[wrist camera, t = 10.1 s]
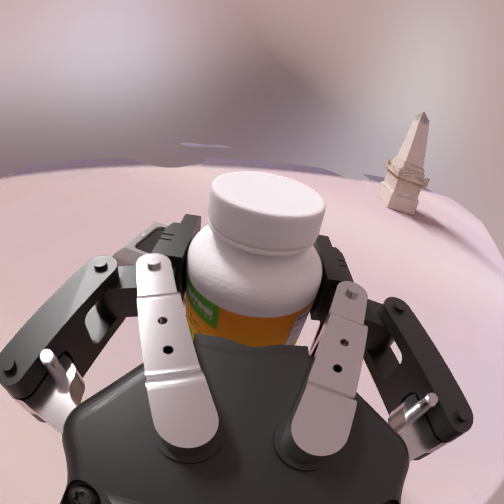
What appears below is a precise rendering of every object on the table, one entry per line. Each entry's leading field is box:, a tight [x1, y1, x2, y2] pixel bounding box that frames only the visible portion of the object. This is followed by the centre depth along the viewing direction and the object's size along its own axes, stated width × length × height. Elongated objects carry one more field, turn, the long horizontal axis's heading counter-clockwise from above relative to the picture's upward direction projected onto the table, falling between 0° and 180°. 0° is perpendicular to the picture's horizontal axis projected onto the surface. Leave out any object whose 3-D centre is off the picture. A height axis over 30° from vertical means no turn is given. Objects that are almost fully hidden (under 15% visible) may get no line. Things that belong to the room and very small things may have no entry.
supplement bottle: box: [186, 171, 326, 347], centre depth 12 cm, size 5×5×10 cm
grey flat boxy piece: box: [113, 222, 186, 299], centre depth 34 cm, size 10×4×15 cm
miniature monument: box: [377, 112, 430, 215], centre depth 65 cm, size 10×10×30 cm
